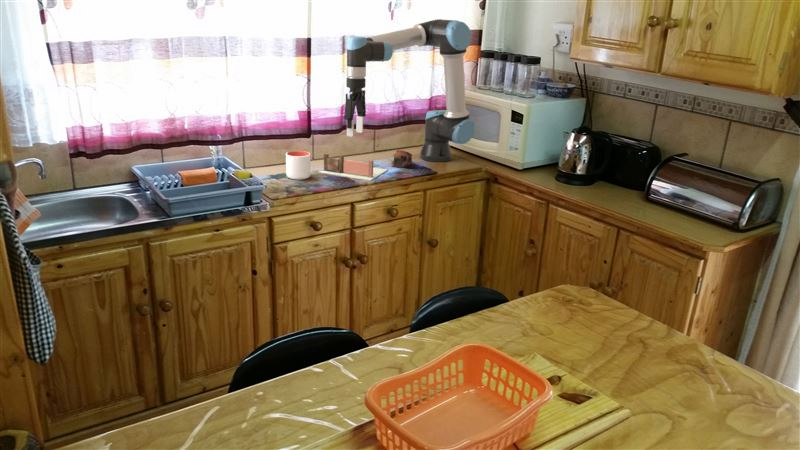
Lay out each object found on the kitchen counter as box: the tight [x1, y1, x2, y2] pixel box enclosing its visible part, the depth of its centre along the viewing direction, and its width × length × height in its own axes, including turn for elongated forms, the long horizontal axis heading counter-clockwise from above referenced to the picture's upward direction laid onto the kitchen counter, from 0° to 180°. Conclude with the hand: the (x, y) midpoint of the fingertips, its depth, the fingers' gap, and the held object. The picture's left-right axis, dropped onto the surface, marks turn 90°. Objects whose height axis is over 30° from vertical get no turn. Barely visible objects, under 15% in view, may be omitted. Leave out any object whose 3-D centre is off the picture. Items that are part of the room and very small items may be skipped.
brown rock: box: [390, 149, 413, 169], centre depth 290 cm, size 12×10×8 cm
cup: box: [285, 150, 311, 181], centre depth 265 cm, size 10×10×10 cm
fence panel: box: [343, 159, 374, 177], centre depth 270 cm, size 13×2×7 cm, turn 69°
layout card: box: [317, 167, 388, 182], centre depth 278 cm, size 24×19×1 cm
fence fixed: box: [323, 153, 345, 173], centre depth 274 cm, size 9×2×8 cm, turn 69°
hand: (354, 134), depth 259 cm, fingers open, 8 cm apart
